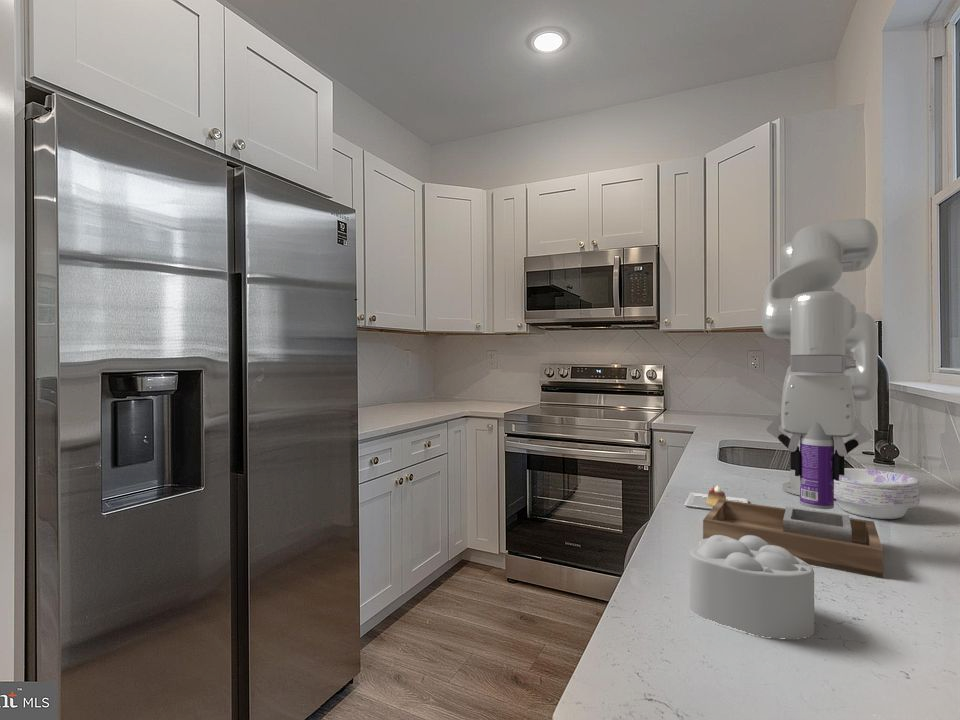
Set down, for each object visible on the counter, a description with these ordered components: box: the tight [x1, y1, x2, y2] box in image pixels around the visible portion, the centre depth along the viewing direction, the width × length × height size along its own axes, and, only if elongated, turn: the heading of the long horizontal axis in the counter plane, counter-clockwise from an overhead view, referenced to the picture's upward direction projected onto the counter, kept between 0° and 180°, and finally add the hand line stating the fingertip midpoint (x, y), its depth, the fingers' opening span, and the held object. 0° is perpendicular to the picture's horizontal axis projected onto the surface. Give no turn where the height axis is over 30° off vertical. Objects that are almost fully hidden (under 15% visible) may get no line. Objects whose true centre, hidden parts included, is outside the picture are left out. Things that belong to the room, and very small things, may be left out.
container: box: [799, 422, 835, 510], centre depth 83 cm, size 5×5×15 cm
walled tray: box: [702, 499, 884, 579], centre depth 86 cm, size 16×24×4 cm, turn 56°
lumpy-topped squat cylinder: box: [689, 535, 815, 640], centre depth 62 cm, size 10×13×9 cm
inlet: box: [783, 506, 852, 543], centre depth 83 cm, size 9×9×4 cm
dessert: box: [684, 484, 749, 511], centre depth 110 cm, size 12×12×5 cm
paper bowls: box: [834, 467, 921, 520], centre depth 104 cm, size 15×15×8 cm
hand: (816, 475), depth 83 cm, fingers closed on container, 4 cm apart
